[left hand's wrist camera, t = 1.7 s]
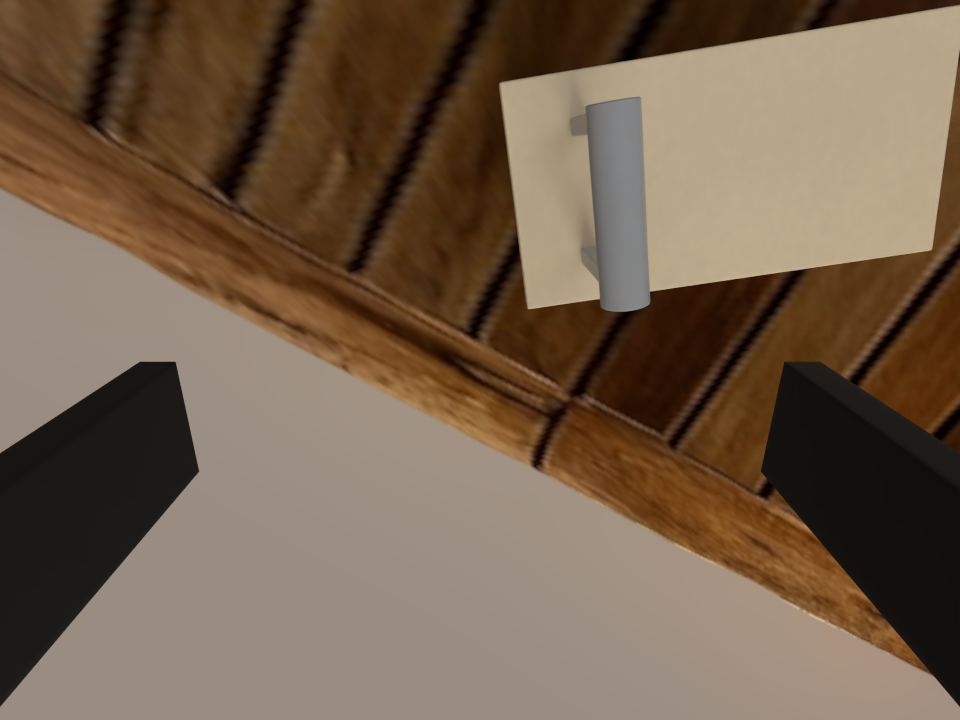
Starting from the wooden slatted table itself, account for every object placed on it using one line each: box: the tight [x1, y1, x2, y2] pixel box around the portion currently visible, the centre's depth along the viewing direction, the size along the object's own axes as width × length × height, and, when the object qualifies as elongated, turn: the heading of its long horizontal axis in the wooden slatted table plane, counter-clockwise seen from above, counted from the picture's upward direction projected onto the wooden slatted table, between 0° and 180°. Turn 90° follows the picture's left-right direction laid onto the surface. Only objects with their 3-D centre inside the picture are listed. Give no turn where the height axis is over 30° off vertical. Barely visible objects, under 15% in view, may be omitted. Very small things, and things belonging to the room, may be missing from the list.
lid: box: [499, 5, 960, 311], centre depth 20 cm, size 18×9×8 cm, turn 99°
